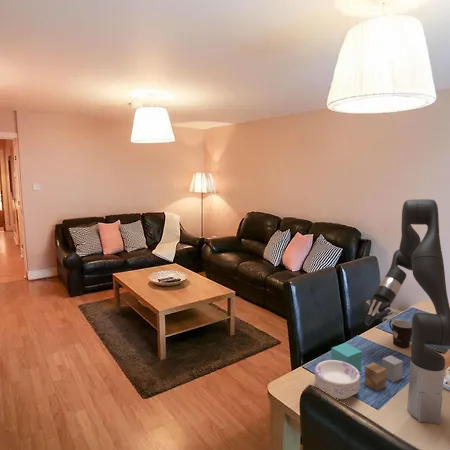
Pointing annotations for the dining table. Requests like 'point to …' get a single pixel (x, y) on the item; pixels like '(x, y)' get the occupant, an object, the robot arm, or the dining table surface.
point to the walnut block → (375, 376)
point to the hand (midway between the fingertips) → (367, 324)
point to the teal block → (347, 355)
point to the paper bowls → (337, 378)
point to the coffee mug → (401, 333)
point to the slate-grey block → (392, 368)
